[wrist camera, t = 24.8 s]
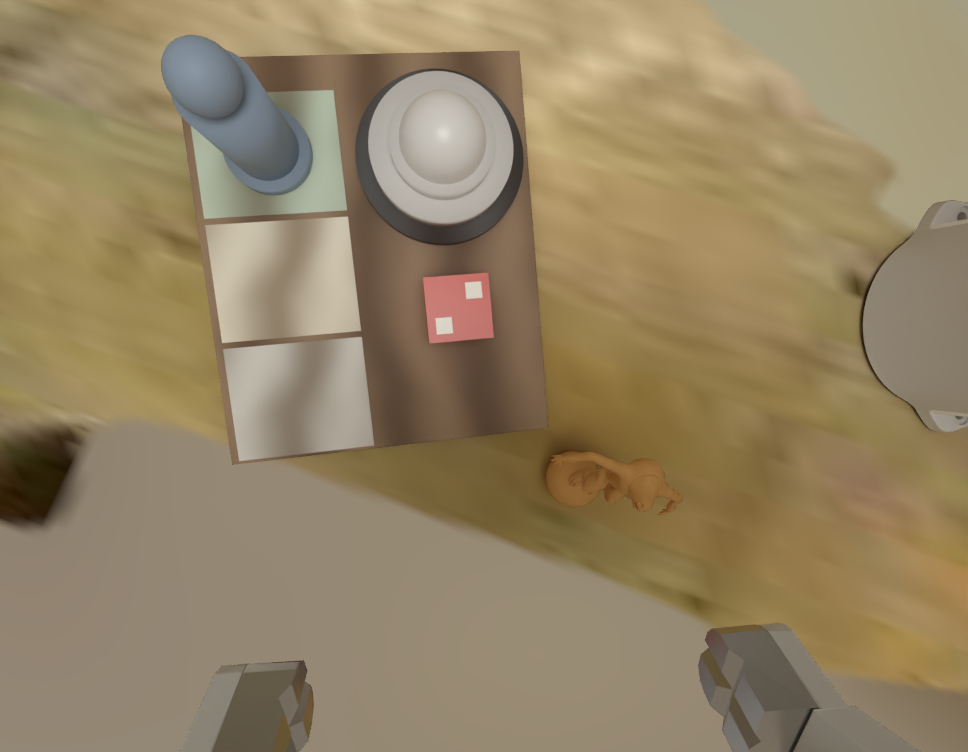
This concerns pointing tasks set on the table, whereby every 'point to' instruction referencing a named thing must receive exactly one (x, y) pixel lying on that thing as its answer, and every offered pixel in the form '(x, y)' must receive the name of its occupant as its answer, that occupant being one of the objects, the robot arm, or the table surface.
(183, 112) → the pawn
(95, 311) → the table surface
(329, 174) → the game board
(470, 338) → the red die
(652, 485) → the figurine
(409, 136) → the dome
